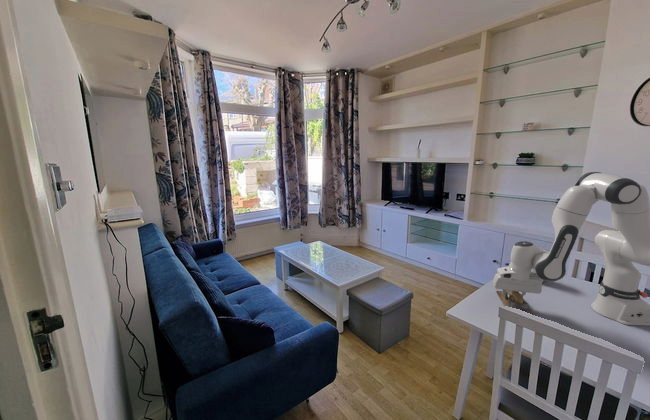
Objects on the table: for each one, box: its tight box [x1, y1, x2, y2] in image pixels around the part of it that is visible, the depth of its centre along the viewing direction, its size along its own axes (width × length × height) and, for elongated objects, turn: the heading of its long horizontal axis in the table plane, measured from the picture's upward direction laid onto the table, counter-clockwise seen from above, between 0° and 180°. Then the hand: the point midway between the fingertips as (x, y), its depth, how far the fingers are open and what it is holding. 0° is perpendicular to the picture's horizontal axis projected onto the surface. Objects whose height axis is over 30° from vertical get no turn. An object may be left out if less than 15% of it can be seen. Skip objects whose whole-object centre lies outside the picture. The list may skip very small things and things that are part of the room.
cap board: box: [495, 289, 533, 314], centre depth 136 cm, size 10×20×4 cm, turn 163°
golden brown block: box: [509, 291, 525, 303], centre depth 136 cm, size 3×11×5 cm, turn 163°
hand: (514, 297), depth 136 cm, fingers closed on golden brown block, 3 cm apart
